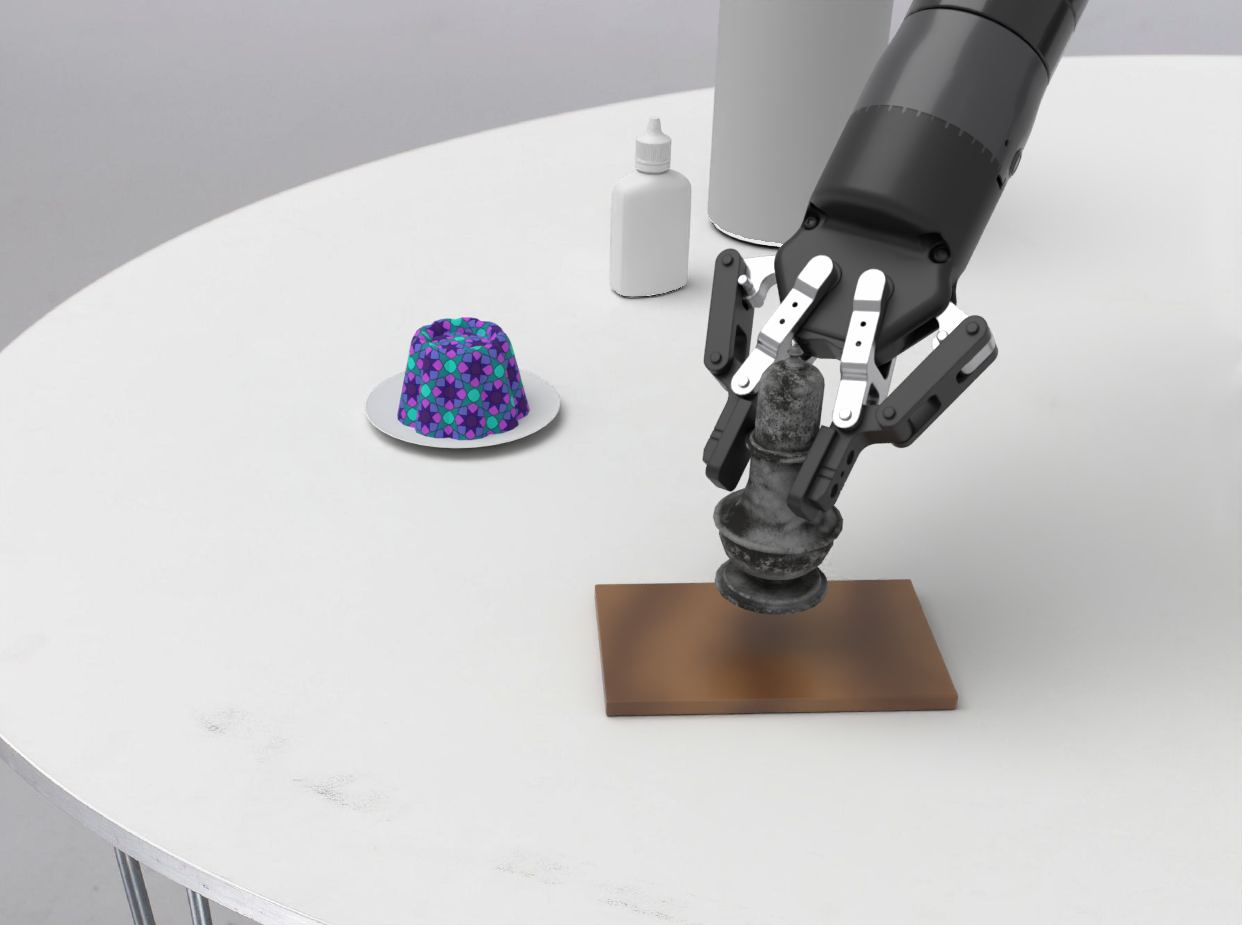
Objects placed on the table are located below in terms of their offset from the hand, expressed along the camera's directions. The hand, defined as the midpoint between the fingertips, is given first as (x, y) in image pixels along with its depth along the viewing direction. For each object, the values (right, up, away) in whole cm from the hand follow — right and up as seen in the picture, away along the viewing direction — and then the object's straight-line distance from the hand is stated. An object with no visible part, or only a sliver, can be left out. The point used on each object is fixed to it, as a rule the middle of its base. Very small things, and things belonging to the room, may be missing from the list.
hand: (759, 496), depth 67 cm
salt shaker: (+1, -4, +5) cm, 6 cm away
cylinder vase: (+10, +28, +54) cm, 62 cm away
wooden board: (+1, -7, +7) cm, 9 cm away
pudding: (-14, +8, +27) cm, 32 cm away
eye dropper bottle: (-2, +21, +44) cm, 48 cm away
